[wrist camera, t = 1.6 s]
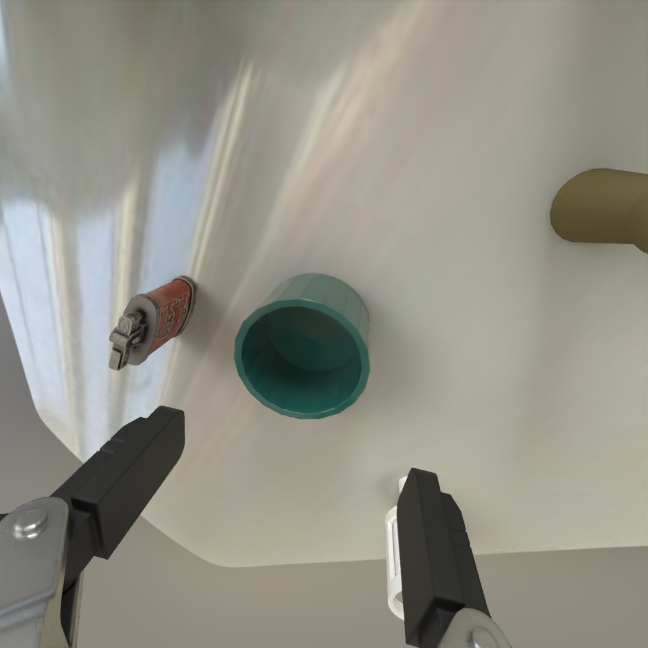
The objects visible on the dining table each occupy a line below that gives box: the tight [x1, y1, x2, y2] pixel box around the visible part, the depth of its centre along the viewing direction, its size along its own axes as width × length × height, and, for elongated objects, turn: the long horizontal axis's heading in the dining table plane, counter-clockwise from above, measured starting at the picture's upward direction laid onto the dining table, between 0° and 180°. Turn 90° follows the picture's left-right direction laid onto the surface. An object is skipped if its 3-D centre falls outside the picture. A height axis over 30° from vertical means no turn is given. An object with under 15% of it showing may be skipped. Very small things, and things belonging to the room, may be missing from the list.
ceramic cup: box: [234, 274, 370, 419], centre depth 32 cm, size 12×12×8 cm
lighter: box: [109, 276, 197, 371], centre depth 33 cm, size 8×3×10 cm, turn 153°
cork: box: [550, 169, 648, 254], centre depth 22 cm, size 6×6×11 cm
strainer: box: [385, 476, 408, 620], centre depth 36 cm, size 7×7×15 cm
